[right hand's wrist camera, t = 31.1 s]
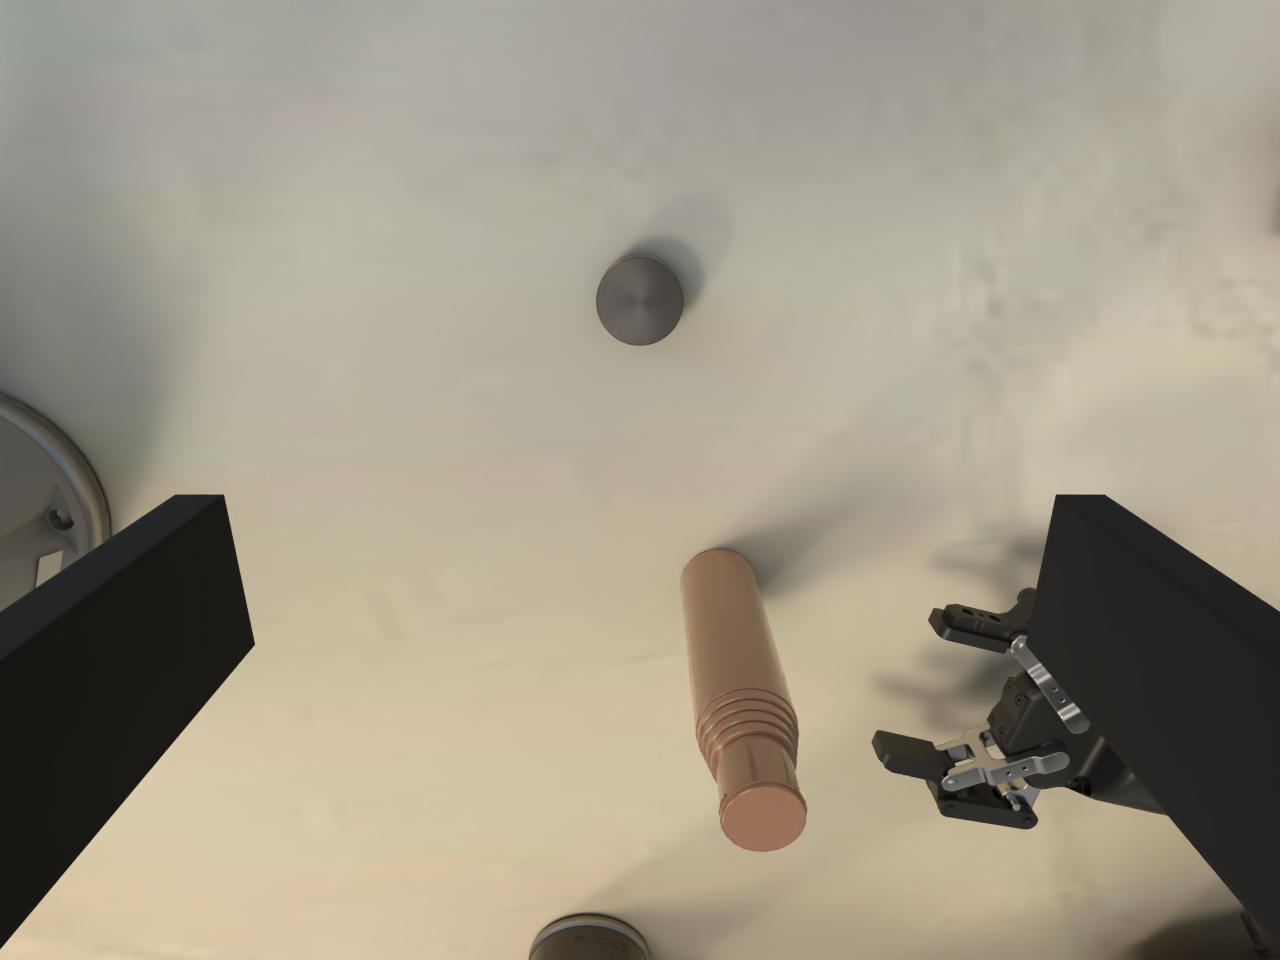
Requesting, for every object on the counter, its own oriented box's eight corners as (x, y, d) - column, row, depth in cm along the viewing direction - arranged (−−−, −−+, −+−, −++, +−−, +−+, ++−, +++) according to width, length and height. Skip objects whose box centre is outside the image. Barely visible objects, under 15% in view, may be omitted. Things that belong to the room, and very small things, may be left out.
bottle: (695, 539, 48) (729, 759, 30) (766, 560, 48) (843, 790, 30) (670, 602, 50) (688, 849, 31) (739, 623, 50) (796, 876, 32)
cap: (582, 309, 43) (580, 316, 41) (626, 237, 42) (626, 240, 40) (652, 353, 44) (652, 361, 42) (697, 283, 42) (699, 288, 40)
